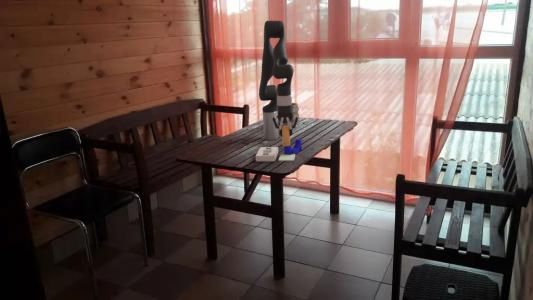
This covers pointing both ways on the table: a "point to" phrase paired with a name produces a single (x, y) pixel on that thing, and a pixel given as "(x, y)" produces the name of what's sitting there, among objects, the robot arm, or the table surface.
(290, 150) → the cable clip
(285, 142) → the plug
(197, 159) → the table surface
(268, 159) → the white slab with hole
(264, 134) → the robot arm
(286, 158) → the mat
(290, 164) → the table surface
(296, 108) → the tankard
